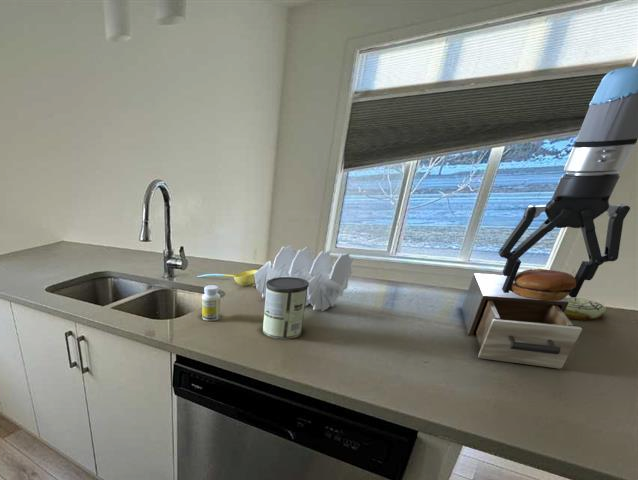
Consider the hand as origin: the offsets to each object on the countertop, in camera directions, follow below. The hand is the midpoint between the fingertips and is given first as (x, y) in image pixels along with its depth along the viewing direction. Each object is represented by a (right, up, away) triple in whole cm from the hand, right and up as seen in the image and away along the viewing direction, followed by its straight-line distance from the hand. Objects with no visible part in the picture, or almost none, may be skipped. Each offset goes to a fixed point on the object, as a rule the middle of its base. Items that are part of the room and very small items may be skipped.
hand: (537, 293), depth 84 cm
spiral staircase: (-31, +6, +44) cm, 54 cm away
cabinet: (+10, -4, +19) cm, 22 cm away
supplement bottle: (-60, +1, +40) cm, 72 cm away
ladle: (-48, +20, +71) cm, 88 cm away
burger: (0, 0, 0) cm, 0 cm away
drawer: (+1, -12, +6) cm, 13 cm away
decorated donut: (+31, -1, +21) cm, 37 cm away
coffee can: (-43, -5, +27) cm, 51 cm away
